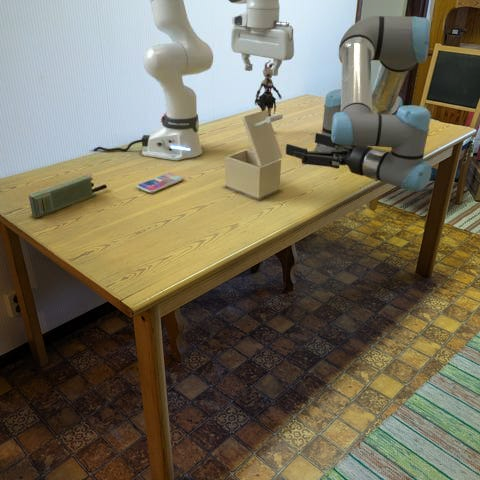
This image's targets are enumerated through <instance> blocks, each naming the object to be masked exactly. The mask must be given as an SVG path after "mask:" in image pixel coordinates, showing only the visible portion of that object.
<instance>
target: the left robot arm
mask: <svg viewBox="0 0 480 480" xmlns="http://www.w3.org/2000/svg"><path fill="white" fill-rule="evenodd" d="M149 1H150V2H149V3H150V6H151V12H152V16H153V21H154V25H155V26H156V28H157V29H158V31H160V32H161V33H164V34H166V35H167V36H168V37H169V38H170V39H171V41H172V42H170V43H160V44H157V45H154V46H151V47H148V48H147V49H146V50H145V52H144V54H143V61H142V62H143V67H144V68H145V71H146V73H147V74H148V75H149V76H150V77H151V78H153V79H154V80H155V81H156V82H157V83H158V84H159V86H160V87H161V89H162V92H163V96H164V102H165V113H163V114H162V116H161V118H160V123H161V125H159V127H157V128H156V129H155V130H154V131H152V132H151V133H150V134H143V135H142V137H141V139H137V140H134V141H131V142H130V143H129V144H128V145H127V147H126V148H123V147H113V148H106V147H103V146H96V147H97V148H96V147H95V148H93V150H92V152H97V151H98V150H102V151H104V152H116V151H121V152H127V151H129V150H130V148H131V147H132V146H133V145H135V144H140V143H141V146H142V147H143V148H142V150H141V155H142V156H145V157H152V158H157V159H164V160H170V161H176V162H178V161H182V160H185V159H190V158H191V159H192V158H196V157H198V156H200V155H202V153H203V149H202V148H203V147H202V145H201V142H200V134H199V128H200V121H199V114H198V103H197V94H196V92H195V91H194V89H192V88H191V87H189V86H187V85H185V84H184V81H183V77H185V76H192V75H199V74H201V73H205V72H207V71H209V70H210V69H211V68H212V66H213V63H214V53H213V50H212V48H211V47H210V45H209V44H208V43H207V42H205V41H204V40H203V39H202V38H200V37H199V36H198V35H197V33H196V32H195V30H194V28H193V27H192V24H191V22H190V21H189V18H188V13H187V9H186V6H185V2H184V0H149ZM279 1H280V0H228V2H229V3H232V4H234V5H235V4H236V5H245V4H246V8H245V9H246V10H245V11H246V12H242V13H240V14H237V15H234V16H232V18H231V24H232V25H233V27H232V28H231V31H230V32H231V33H230V48H231V50H232V52H233V53H236V54H241V59H242V62H243V64H244V71H247V72H250V71H251V72H252V71H253V63H251V60H250V58H251V56H255V57H261V58H266V59H267V58H268V59H272V60H273V61H272V63H275V64H274V66H272V68H271V69H270V75H272V77H276V76H278V75H279V69H280V67H281V65H282V63H283V61H289V60H292V59H293V57H294V56H295V45H294V44H295V42H294V41H295V40H294V27H293V26H292V25H291V24H290V23H289V22H288V21H287V22H285V21H280V2H279Z"/></svg>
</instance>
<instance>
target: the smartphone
mask: <svg viewBox="0 0 480 480" xmlns="http://www.w3.org/2000/svg"><path fill="white" fill-rule="evenodd" d="M182 181H184V177H183V176H180V175H179V174H174V173H172V172H166V173H163V174H161V175H159V176H156V177H154V178H151V179H149V180H146V181H143V182H141V183H138V184H137V185H136V188H137V189H139V190H141V191H143V192H145V193H148V194H154V193H156V192H158V191H160V190H161V191H162V190H164V189H166V188H168V187H170V186H172V185H175V184H177V183H180V182H182Z"/></svg>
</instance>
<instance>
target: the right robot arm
mask: <svg viewBox="0 0 480 480" xmlns="http://www.w3.org/2000/svg"><path fill="white" fill-rule="evenodd" d="M430 34H431V24H430V20H429V19H428V18H426V17H420V16H415V15H414V16H400V15H399V16H392V15H391V16H390V15H389V16H387V15H371V16H367V17H364V18H362V19H359V20H358V21H356V22H355V23H354V24H352V25H351V26H350V27H349V28H348V29H347V30H346V32H345V33H344V34H343V36H342V38H341V40H340V43H339V46H338V59H339V61H340V64H341V84H340V85H341V87H340V88H338V89H334V90H331V91H329V92H328V93H327V94H326V96H325V98H324V105H323V117H322V118H323V119H322V129H321V133H318V132H315V136H314V143H315V144H316V145H315V151H312V150H311V151H309V150H308V149H307V148H302V147H299V146H296V145H293V144H289V143H287V144H286V145H285V155H286V156H290V157H293V158H297V159H299V160H301V164H302V165H309V166H318V167H327V168H333V169H340V166H347V168H348V170H349V172H350V173H352V174H356V175H358V176H361V177H365V178H367V179H368V178H369V179H372V180H374V182H382V183H385V184H388V185H392V186H395V187H397V188H401V189H402V190H406V191H410V192H411V191H412V192H421V191H423V190H424V189H425V188H426V187H427V186H428V184H429V182H430V181H431V177H432V172H433V170H432V164H431V163H430V162H429V161H427V160H424V157H425V155H424V153H425V148H426V145H427V139H428V135H429V132H430V123H431V116H432V115H431V112H430V110H429V109H428V108H426V107H423V106H420V105H412V104H410V105H409V104H408V105H403V99H402V97H401V96H400V95H399V94H400V92H401V90H402V87H403V84H404V83H405V79H406V77H407V75H408V72H409V71H410V70H412V69H413V68H414V67H415V66H416V65H417V63H418V64H421V63H425V62H426V61H427V59H428V54H429V49H430V48H429V47H430V38H431V37H430ZM372 61H379V63H380V65H379V67H378V71H377V75H376V78H375V80H374V81H375V82H374V84H373V88H372ZM373 147H374V148H373ZM377 147H378V148H377ZM380 148H391V149H390V151H388V150H384V149H380Z"/></svg>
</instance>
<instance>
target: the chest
mask: <svg viewBox="0 0 480 480" xmlns="http://www.w3.org/2000/svg"><path fill="white" fill-rule="evenodd" d="M281 168H282V159H278V160H275V161H273V162H270V163H268V164H265V165H263V166H260V167H258V164H257V161H256V158H255V155H254V152H253V150H252V149H248V148H245V149H243V150H240V151H238V152H234V153H231V154H229V155H226V156H224V188H225V189H228V190H230V191H233V192H236V193H238V194H241V195H243V196H246V197H248V198H251V199H254V200H256V201H262V200H263V199H266V198H268V197H270V196H273V195H274V194H276V193H279V192H280V190H281V189H280V188H281V170H282V169H281Z"/></svg>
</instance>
